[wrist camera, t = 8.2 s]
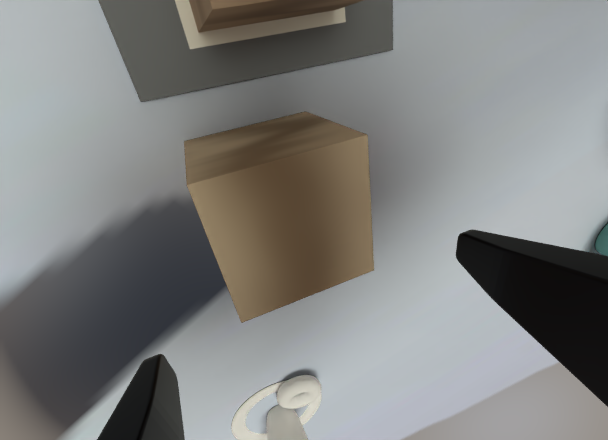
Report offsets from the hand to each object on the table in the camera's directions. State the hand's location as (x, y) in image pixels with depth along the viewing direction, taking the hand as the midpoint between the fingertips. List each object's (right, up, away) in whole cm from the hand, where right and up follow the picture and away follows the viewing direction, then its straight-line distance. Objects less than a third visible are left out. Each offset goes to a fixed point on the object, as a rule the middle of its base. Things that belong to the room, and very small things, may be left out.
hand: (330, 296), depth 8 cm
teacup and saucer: (0, -14, +19) cm, 23 cm away
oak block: (-3, +4, +7) cm, 9 cm away
